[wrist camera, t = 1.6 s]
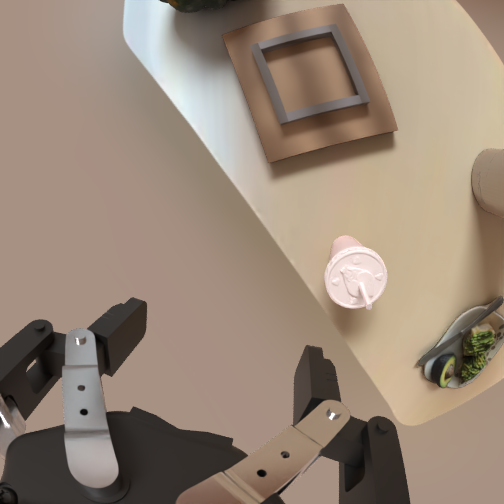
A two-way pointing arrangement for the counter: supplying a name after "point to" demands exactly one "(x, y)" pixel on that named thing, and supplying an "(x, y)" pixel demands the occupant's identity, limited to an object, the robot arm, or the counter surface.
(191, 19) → the counter surface
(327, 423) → the robot arm
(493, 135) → the counter surface
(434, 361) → the salad plate
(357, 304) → the smoothie
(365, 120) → the base board
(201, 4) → the squash
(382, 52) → the counter surface
